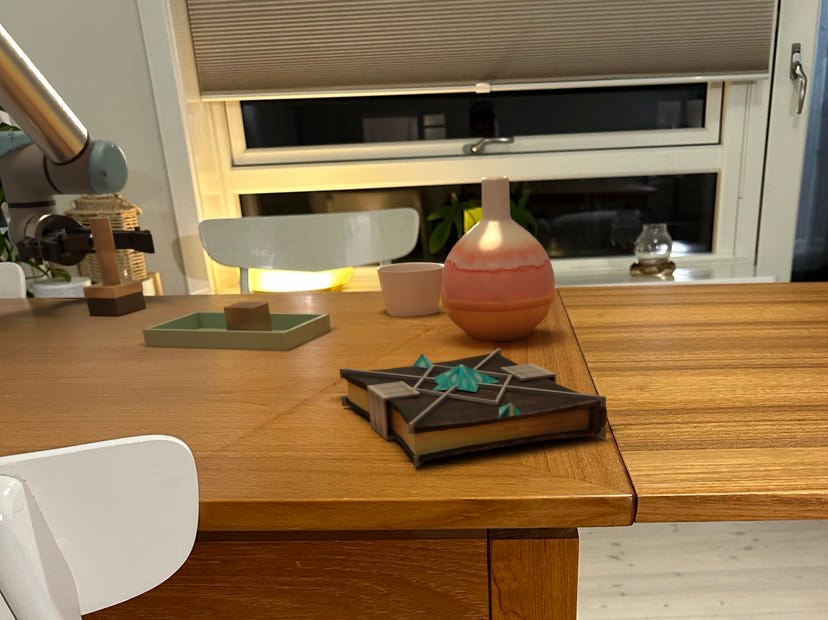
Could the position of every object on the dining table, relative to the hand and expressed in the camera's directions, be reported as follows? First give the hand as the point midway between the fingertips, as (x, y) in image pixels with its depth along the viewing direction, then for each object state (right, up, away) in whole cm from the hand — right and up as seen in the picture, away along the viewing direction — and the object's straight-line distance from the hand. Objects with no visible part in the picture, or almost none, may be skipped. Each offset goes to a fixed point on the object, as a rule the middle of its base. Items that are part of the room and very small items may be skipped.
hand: (106, 248), depth 139 cm
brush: (0, -8, +4) cm, 9 cm away
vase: (+57, -20, -23) cm, 64 cm away
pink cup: (+45, -13, -7) cm, 48 cm away
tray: (+25, -20, -20) cm, 37 cm away
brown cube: (+26, -20, -21) cm, 38 cm away
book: (+53, -38, -54) cm, 85 cm away
